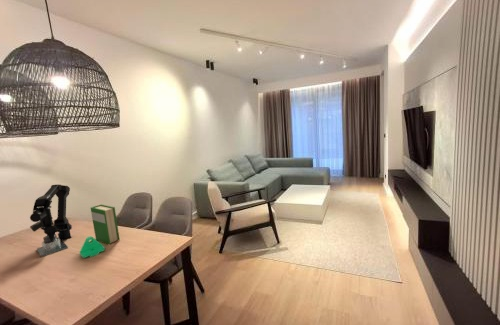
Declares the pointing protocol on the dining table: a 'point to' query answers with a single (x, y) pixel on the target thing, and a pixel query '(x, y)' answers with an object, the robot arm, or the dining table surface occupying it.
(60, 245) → the square base plate
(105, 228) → the hardback book
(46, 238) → the dark grey rounded lump
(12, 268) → the dining table surface
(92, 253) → the camera mount
